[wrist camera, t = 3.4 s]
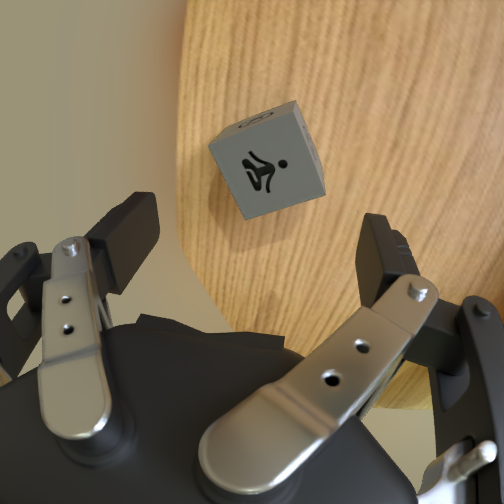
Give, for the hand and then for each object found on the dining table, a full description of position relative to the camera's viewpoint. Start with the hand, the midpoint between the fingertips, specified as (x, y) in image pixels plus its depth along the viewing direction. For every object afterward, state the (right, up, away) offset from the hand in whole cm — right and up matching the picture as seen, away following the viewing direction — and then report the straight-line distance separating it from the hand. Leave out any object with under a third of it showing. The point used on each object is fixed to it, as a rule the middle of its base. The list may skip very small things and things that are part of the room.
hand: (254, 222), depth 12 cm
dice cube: (+2, +6, +9) cm, 12 cm away
